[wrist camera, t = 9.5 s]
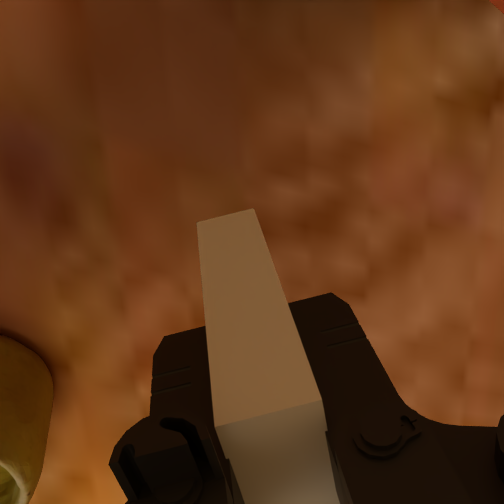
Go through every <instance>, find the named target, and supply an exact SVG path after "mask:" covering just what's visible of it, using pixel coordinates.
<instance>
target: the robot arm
mask: <svg viewBox="0 0 504 504" xmlns="http://www.w3.org/2000/svg"><path fill="white" fill-rule="evenodd" d="M196 224H197V235H198V246H199V257H200V268H201V280H202V291H203V302H204V313H205V325H206V326H203V327H199V328H195V329H191V330H187V331H183V332H179V333H175V334H171V335H167V336H164V338H163V339H162V341H161V343H160V345H159V346H158V348H157V350H156V352H155V353H154V355H153V368H152V377H153V379H152V384H151V394H152V396H151V401H150V416H148V417H146V418H143V419H142V420H140V421H139V422H138V423H136V424H135V425H134V426H132V427H131V428H130V429H128V430H127V431H126V432H125V434H124V435H123V436H122V438H121V439H120V440H119V441H118V443H117V444H116V445H115V447H114V450H113V453H112V455H111V458H110V461H109V466H110V468H111V470H112V472H113V473H114V475H115V477H116V479H117V481H118V482H119V484H120V486H121V488H122V490H123V491H124V493H125V495H126V497H127V499H128V501H127V502H126V503H125V504H504V415H503V416H502V417H501V418H500V421H499V424H498V427H483V426H457V425H449V424H442V423H439V422H436V421H433V420H429V419H427V418H425V417H423V416H421V415H420V414H418V413H417V412H416V411H415V410H413V409H411V408H410V407H408V406H407V405H406V404H405V403H404V401H403V400H402V399H401V397H400V396H399V395H398V393H397V391H396V389H395V388H394V386H393V384H392V382H391V380H390V378H389V377H388V375H387V373H386V371H385V369H384V367H383V366H382V364H381V362H380V360H379V358H378V357H377V355H376V353H375V351H374V349H373V347H372V346H371V344H370V342H369V340H368V339H367V338H366V335H365V333H364V331H363V329H362V327H361V326H360V325H359V323H358V320H357V318H356V316H355V315H354V313H353V311H352V309H351V307H350V306H349V304H348V303H346V302H345V301H343V300H342V299H340V298H339V297H337V296H336V295H334V294H333V293H327V294H323V295H319V296H315V297H311V298H307V299H303V300H299V301H295V302H292V303H287V300H286V297H285V294H284V292H283V289H282V286H281V283H280V280H279V278H278V275H277V272H276V269H275V266H274V264H273V261H272V258H271V255H270V252H269V250H268V247H267V244H266V241H265V238H264V235H263V233H262V230H261V227H260V224H259V221H258V219H257V216H256V213H255V210H254V208H252V209H248V210H244V211H240V212H236V213H232V214H228V215H224V216H220V217H216V218H212V219H208V220H204V221H200V222H196Z"/></svg>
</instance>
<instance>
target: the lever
mask: <svg viewBox="0 0 504 504" xmlns="http://www.w3.org/2000/svg"><path fill="white" fill-rule="evenodd" d="M489 1H490V2H491V3H492V4H493V5H494V6H496V7H497V8H498V9H499V10H500V11H501V12H502V13H503V14H504V0H489Z"/></svg>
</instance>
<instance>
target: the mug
mask: <svg viewBox="0 0 504 504" xmlns="http://www.w3.org/2000/svg"><path fill="white" fill-rule="evenodd" d="M52 405H53V380H52V377H51V374H50V372H49V370H48V368H47V366H46V364H45V363H44V362H43V360H42V359H41V358H40V357H39V355H38V354H37V353H35V352H33V351H31V350H30V349H28V348H26V347H25V346H23V345H22V344H20V343H19V342H17V341H15V340H13V339H11V338H9V337H7V336H3V335H0V504H28V503H29V501H30V499H31V498H32V496H33V494H34V491H35V489H36V486H37V484H38V481H39V478H40V475H41V472H42V468H43V462H44V456H45V450H46V443H47V437H48V431H49V424H50V418H51V412H52Z"/></svg>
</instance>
